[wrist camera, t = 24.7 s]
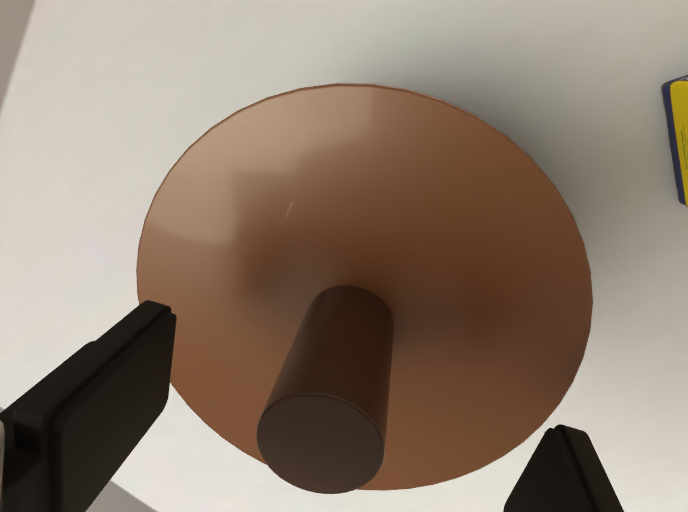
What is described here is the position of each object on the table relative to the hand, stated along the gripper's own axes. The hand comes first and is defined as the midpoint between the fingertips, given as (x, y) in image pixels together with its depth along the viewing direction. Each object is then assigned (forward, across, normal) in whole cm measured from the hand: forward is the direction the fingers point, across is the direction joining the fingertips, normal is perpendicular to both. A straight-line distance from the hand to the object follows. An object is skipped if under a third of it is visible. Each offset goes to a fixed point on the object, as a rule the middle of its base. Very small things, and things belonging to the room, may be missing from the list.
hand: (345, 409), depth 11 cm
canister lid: (+4, 0, 0) cm, 4 cm away
